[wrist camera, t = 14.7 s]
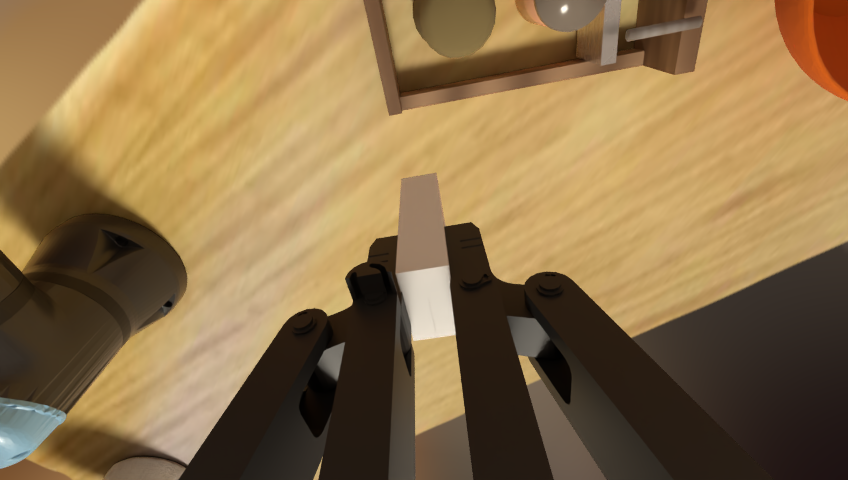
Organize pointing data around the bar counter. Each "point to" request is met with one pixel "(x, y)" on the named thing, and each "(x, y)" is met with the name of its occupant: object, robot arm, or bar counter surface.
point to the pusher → (600, 36)
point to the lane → (653, 47)
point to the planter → (145, 469)
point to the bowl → (817, 40)
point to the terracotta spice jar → (560, 13)
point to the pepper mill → (454, 24)
